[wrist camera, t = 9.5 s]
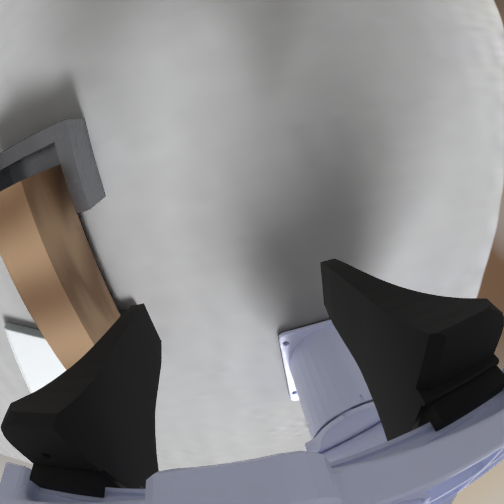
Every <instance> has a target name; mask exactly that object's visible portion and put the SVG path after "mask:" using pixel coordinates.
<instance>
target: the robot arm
mask: <svg viewBox="0 0 504 504" xmlns="http://www.w3.org/2000/svg"><path fill="white" fill-rule="evenodd" d="M320 263H321V273H322V284H323V295H324V305H325V307H326V309H327V312H328V314H329V317H330V320H327V321H323V322H320V323H316V324H313V325H309V326H305V327H302V328H298V329H294V330H290V331H286V332H283V333H281V334H280V335H279V343H280V348H281V353H282V358H283V363H284V368H285V373H286V379H287V384H288V389H289V394H290V399H291V400H292V401H297V400H300V403H301V406H302V409H303V413H304V416H305V419H306V422H307V425H308V428H309V432H310V435H311V438H312V440H311V441H309V442H307V443H306V444H305V446H306V449H307V451H296V452H289V453H281V454H275V455H271V456H266V457H261V458H256V459H250V460H245V461H239V462H232V463H225V464H218V465H210V466H201V467H190V468H177V469H170V470H165V471H158V463H157V454H156V439H155V407H156V398H157V391H158V383H159V376H160V369H161V340H160V338H159V336H158V333H157V331H156V329H155V327H154V325H153V323H152V321H151V319H150V316H149V314H148V312H147V310H146V307H145V305H144V304H139V305H134V306H130V307H129V308H128V309H127V310H126V311H125V312H124V313H123V314H122V315H121V316H120V317H119V318H118V320H117V321H116V322H115V323H114V324H113V325H112V326H111V327H110V329H109V330H108V331H107V332H106V333H105V334H104V335H103V336H102V337H101V338H100V339H99V341H98V342H97V343H96V344H95V345H94V346H93V347H92V348H91V349H90V350H89V351H88V352H87V353H86V354H85V355H84V356H83V357H82V358H81V359H80V360H78V361H77V362H76V363H75V364H74V365H73V366H71V367H70V368H69V369H68V370H66V371H65V372H64V373H62V374H61V375H60V376H58V377H57V378H56V379H54V380H53V381H51V382H50V383H48V384H47V385H45V386H44V387H42V388H40V389H38V390H37V391H35V392H33V393H31V394H29V395H27V396H25V397H23V398H21V399H19V400H17V401H15V402H12V403H11V404H10V406H9V408H8V410H7V413H6V415H5V417H4V420H3V422H2V424H1V430H2V432H3V435H4V436H5V438H6V439H7V440H8V441H9V442H10V443H11V444H12V445H13V446H14V447H15V448H16V449H17V450H18V451H19V452H21V453H22V454H23V455H24V456H25V457H26V458H28V459H29V460H30V461H31V462H32V463H34V464H33V468H32V470H31V469H29V468H27V467H25V466H21V465H17V464H13V463H9V462H8V463H6V466H5V469H4V472H3V476H2V479H1V482H0V504H452V502H453V500H454V499H455V497H456V495H457V493H458V492H459V491H461V490H462V489H464V488H465V487H467V486H468V485H470V484H471V483H473V482H474V481H475V480H477V479H478V478H480V477H481V476H482V475H484V474H485V473H486V472H488V471H489V470H490V469H492V468H493V467H494V466H496V465H497V464H498V463H499V462H500V461H502V460H503V459H504V368H503V369H502V371H501V370H500V369H499V368H498V366H497V364H498V363H499V359H498V358H497V357H496V356H495V355H494V352H495V349H496V347H497V344H498V341H499V339H500V336H501V333H502V330H503V326H504V316H503V313H502V312H501V311H500V310H499V309H498V308H496V307H495V306H494V305H493V304H492V303H491V302H490V301H489V300H488V299H471V298H452V297H443V296H436V295H431V294H426V293H421V292H417V291H413V290H409V289H406V288H403V287H399V286H396V285H393V284H391V283H388V282H385V281H383V280H380V279H378V278H376V277H373V276H371V275H369V274H367V273H364V272H362V271H360V270H358V269H356V268H354V267H352V266H350V265H348V264H346V263H344V262H342V261H339V260H337V259H332V260H328V261H324V262H320ZM285 341H287V342H286V343H284V342H285Z"/></svg>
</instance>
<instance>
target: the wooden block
mask: <svg viewBox="0 0 504 504" xmlns="http://www.w3.org/2000/svg"><path fill="white" fill-rule="evenodd" d="M0 254H1V257H2V259H3V261H4V263H5V266H6V268H7V270H8V272H9V274H10V276H11V278H12V280H13V282H14V284H15V286H16V288H17V290H18V292H19V294H20V296H21V298H22V300H23V302H24V304H25V306H26V307H27V309H28V311H29V313H30V314H31V316H32V318H33V320H34V321H35V323H36V325H37V326H38V328H39V330H40V331H41V333H42V335H43V336H44V338H45V339H46V341H47V343H48V344H49V346H50V347H51V349H52V350H53V352H54V353H55V355H56V356H57V358H58V359H59V361H60V362H61V364H62V365H63V366H64V368H65V369H66V370H68V369H69V368H70V367H71V366H73V365H74V364H75V363H76V362H77V361H78V360H80V359H81V358H82V357H83V356H84V355H85V354H86V353H87V352H88V351H89V350H90V349H91V348H92V347H93V346H94V345H95V344H96V343H97V342H98V341H99V339H100V338H101V337H102V336H103V335H104V334H105V333H106V332H107V331H108V330H109V329H110V327H111V326H112V325H113V324H114V323H115V322H116V321H117V320H118V318H119V317H120V314H119V312H118V309H117V307H116V305H115V303H114V301H113V299H112V297H111V295H110V293H109V291H108V288H107V286H106V284H105V282H104V279H103V277H102V275H101V273H100V270H99V268H98V266H97V263H96V261H95V259H94V256H93V254H92V251H91V249H90V246H89V244H88V241H87V239H86V236H85V233H84V231H83V228H82V225H81V223H80V220H79V217H78V214H76V212H75V209H74V206H73V203H72V200H71V197H70V194H69V191H68V188H67V185H66V181H65V178H64V175H63V171H62V168H61V164H60V165H57V166H55V167H52V168H50V169H47V170H45V171H42V172H40V173H38V174H35V175H33V176H31V177H28V178H26V179H24V180H22V181H19V182H18V183H16V184H14V185H12V186H10V187H8V188H6V189H4V190H2V191H0Z"/></svg>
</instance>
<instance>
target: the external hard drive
mask: <svg viewBox="0 0 504 504" xmlns="http://www.w3.org/2000/svg"><path fill="white" fill-rule="evenodd" d="M4 329H5V331H6V334H7V337H8V340H9V343H10V346H11V348H12V351H13V353H14V356H15V358H16V361H17V363H18V366H19V368H20V370H21V373H22V375H23V377H24V380H25V382H26V384H27V386H28V388H29V390H30V393H33V392H35V391H37V390H38V389H40V388H42V387H44V386H45V385H47V384H48V383H50V382H51V381H53V380H54V379H56V378H57V377H58V376H60V375H61V374H62V373H64V372H65V371H66V369H65V368H64V366H63V365H62V364H61V362H60V361H59V359H58V358H57V356H56V355H55V353H54V352H53V350H52V349H51V347H50V346H49V344H48V343H47V341H46V339H45V338H44V336H43V335H42V333H41V331H40V330H38V329H34V328H29V327H25V326H21V325H17V324H13V323H9V322H7V324H6V326H5V327H4Z"/></svg>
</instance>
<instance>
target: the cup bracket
mask: <svg viewBox="0 0 504 504" xmlns="http://www.w3.org/2000/svg"><path fill="white" fill-rule="evenodd" d="M60 164H61V168H62V171H63V175H64V178H65V181H66V185H67V188H68V191H69V194H70V197H71V200H72V203H73V206H74V209H75V212H76V214H78V213H81V212H84V211H87V210H89V209H91V208H92V207H93V206H95V205H96V204H97V203H98V202H99V201H100V200H102V199H103V198H104V197H105V192H104V189H103V186H102V183H101V179H100V176H99V173H98V169H97V166H96V162H95V159H94V155H93V151H92V147H91V144H90V140H89V136H88V132H87V128H86V123H85V119H84V118H82V119H66V120H63V121H60V122H58V123H56V124H54V125H52V126H50V127H48V128H46V129H44V130H42V131H40V132H38V133H36V134H34V135H32V136H30V137H28V138H27V139H25V140H23V141H21V142H19V143H17V144H16V145H14V146H12V147H10V148H9V149H7V150H5V151H4V152H2V153H0V191H2V190H4V189H6V188H8V187H10V186H12V185H14V184H16V183H18V182H19V181H22V180H24V179H26V178H28V177H31V176H33V175H35V174H38V173H40V172H42V171H45V170H47V169H50V168H52V167H55V166H57V165H60Z"/></svg>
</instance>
